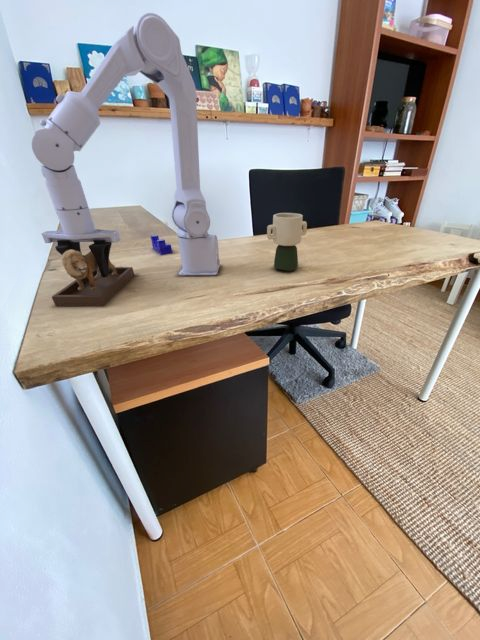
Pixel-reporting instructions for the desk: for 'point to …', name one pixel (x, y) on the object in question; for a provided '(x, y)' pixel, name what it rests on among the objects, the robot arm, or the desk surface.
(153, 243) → the cable holder
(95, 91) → the robot arm
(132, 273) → the brown rectangular tray
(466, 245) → the desk surface
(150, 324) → the desk surface
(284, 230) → the beige and green trophy
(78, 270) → the lion figurine
